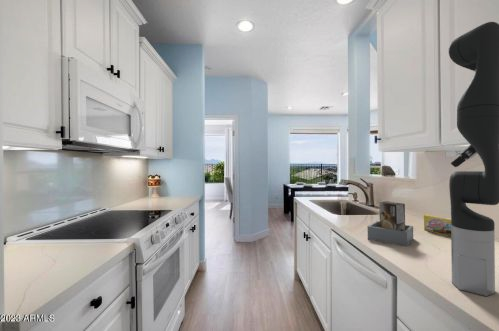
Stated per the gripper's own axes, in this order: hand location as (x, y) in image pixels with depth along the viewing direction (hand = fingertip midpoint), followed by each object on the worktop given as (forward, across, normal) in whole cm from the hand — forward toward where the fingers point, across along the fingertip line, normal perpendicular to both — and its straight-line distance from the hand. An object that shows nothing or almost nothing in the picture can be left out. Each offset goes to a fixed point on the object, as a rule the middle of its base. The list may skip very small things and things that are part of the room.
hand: (453, 165), depth 95 cm
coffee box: (+40, -8, +8) cm, 42 cm away
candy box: (+30, -32, +20) cm, 48 cm away
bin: (+41, -7, +8) cm, 43 cm away
